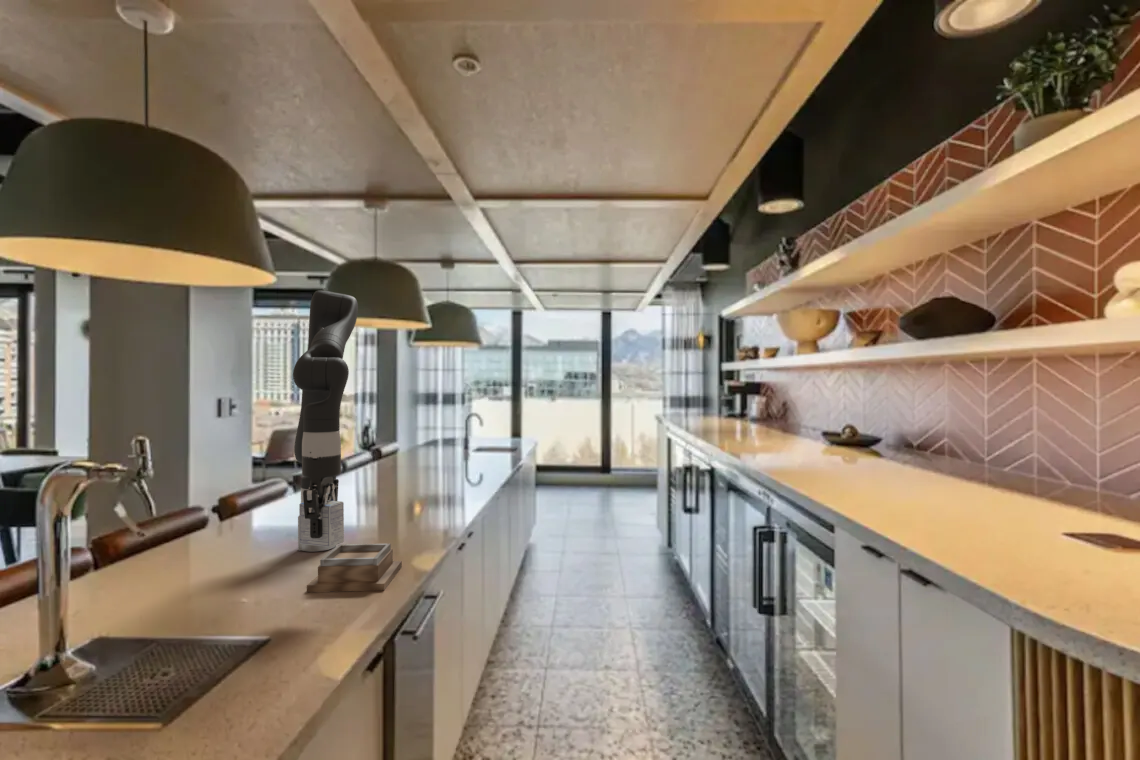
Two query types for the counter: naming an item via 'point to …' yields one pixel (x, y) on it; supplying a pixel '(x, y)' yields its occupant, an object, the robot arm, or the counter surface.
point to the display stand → (356, 568)
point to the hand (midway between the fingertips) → (321, 533)
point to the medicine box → (324, 525)
